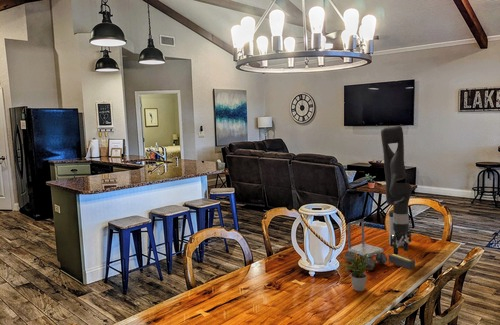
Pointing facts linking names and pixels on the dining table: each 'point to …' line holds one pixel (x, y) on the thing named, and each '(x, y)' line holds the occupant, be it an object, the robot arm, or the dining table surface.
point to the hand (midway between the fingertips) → (400, 252)
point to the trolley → (364, 249)
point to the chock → (402, 261)
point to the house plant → (358, 272)
